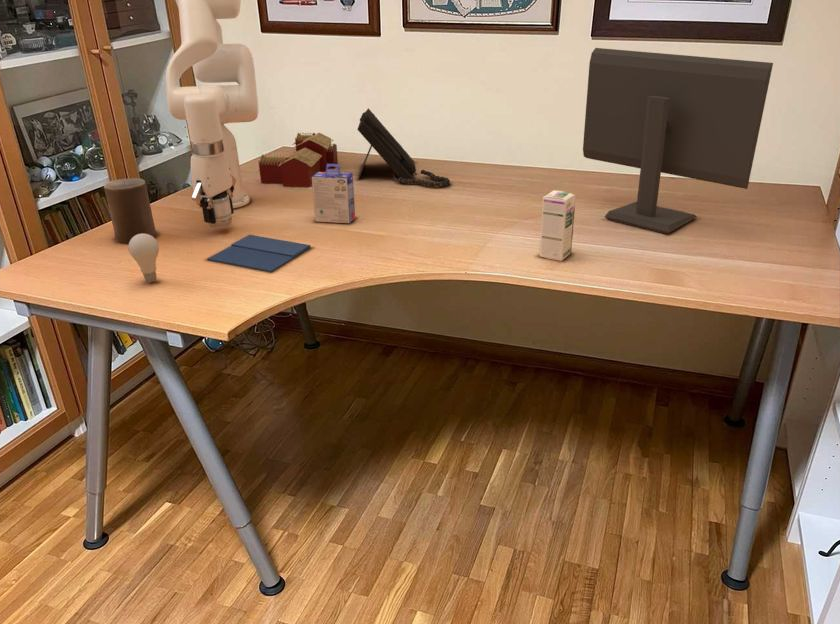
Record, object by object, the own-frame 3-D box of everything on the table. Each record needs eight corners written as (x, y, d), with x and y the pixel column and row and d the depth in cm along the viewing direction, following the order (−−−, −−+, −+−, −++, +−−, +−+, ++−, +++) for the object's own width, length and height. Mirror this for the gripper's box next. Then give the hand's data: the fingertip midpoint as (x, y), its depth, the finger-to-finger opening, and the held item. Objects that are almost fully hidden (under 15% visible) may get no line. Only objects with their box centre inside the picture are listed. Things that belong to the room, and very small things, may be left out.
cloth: (207, 260, 165) (207, 256, 165) (249, 237, 178) (249, 234, 177) (271, 272, 158) (270, 269, 158) (310, 248, 171) (310, 245, 171)
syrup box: (562, 261, 161) (567, 199, 154) (538, 256, 164) (542, 195, 157) (571, 253, 166) (577, 192, 158) (547, 248, 168) (552, 189, 161)
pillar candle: (141, 245, 174) (127, 185, 167) (107, 241, 177) (93, 182, 169) (164, 231, 182) (152, 174, 175) (132, 228, 185) (119, 171, 177)
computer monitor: (746, 230, 178) (785, 59, 158) (719, 248, 167) (757, 67, 148) (593, 195, 204) (610, 44, 184) (562, 209, 193) (576, 51, 174)
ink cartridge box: (356, 217, 190) (353, 163, 183) (350, 224, 185) (347, 169, 178) (321, 215, 192) (316, 161, 185) (314, 222, 187) (309, 167, 180)
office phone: (450, 188, 211) (450, 118, 201) (355, 189, 212) (351, 119, 202) (448, 162, 237) (448, 99, 227) (363, 163, 237) (360, 100, 227)
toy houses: (318, 187, 214) (316, 153, 209) (253, 185, 217) (249, 152, 212) (350, 150, 253) (348, 121, 248) (294, 149, 255) (291, 120, 250)
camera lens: (210, 219, 184) (205, 189, 179) (234, 218, 184) (230, 189, 180) (205, 228, 178) (200, 198, 174) (230, 227, 178) (225, 197, 174)
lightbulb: (140, 277, 157) (129, 230, 152) (168, 275, 157) (159, 228, 152) (133, 288, 152) (122, 240, 146) (162, 287, 152) (152, 238, 147)
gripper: (218, 136, 179) (229, 204, 188) (170, 155, 166) (184, 227, 175) (242, 140, 176) (252, 209, 186) (196, 159, 163) (208, 232, 172)
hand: (219, 217), depth 180 cm, fingers closed on camera lens, 6 cm apart
